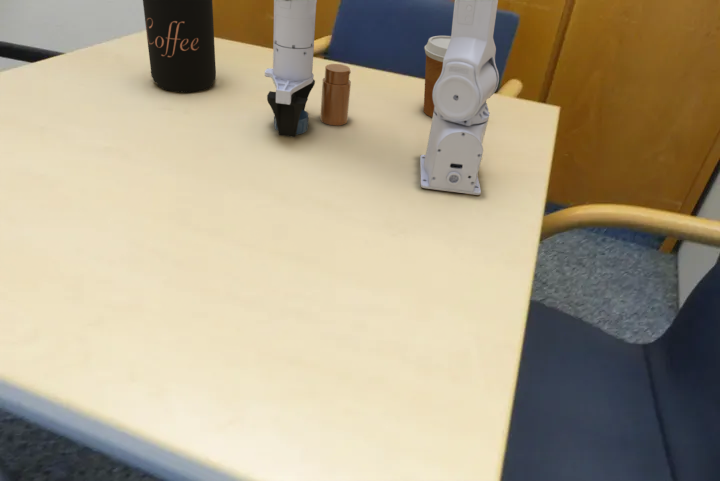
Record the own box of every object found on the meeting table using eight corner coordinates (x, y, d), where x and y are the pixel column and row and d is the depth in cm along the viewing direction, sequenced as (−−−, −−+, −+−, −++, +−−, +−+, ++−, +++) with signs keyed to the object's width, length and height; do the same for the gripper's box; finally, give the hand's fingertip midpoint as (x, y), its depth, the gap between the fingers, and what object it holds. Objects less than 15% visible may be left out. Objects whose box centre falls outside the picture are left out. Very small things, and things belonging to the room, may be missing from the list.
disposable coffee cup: (403, 107, 97) (413, 37, 90) (441, 99, 102) (454, 32, 96) (440, 128, 91) (455, 54, 85) (479, 118, 97) (496, 48, 90)
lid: (309, 122, 88) (310, 109, 86) (305, 136, 83) (306, 122, 82) (277, 119, 88) (277, 105, 86) (271, 132, 83) (271, 118, 82)
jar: (350, 125, 89) (355, 72, 84) (324, 126, 87) (327, 72, 82) (342, 114, 92) (347, 63, 87) (317, 115, 91) (320, 63, 86)
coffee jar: (139, 86, 93) (124, -32, 83) (174, 68, 102) (164, -40, 92) (196, 98, 91) (187, -20, 81) (227, 79, 100) (223, -30, 90)
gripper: (276, 26, 84) (274, 111, 92) (253, 53, 72) (253, 148, 80) (322, 32, 84) (316, 116, 92) (307, 60, 72) (302, 154, 80)
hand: (290, 132), depth 86 cm, fingers closed on lid, 5 cm apart
